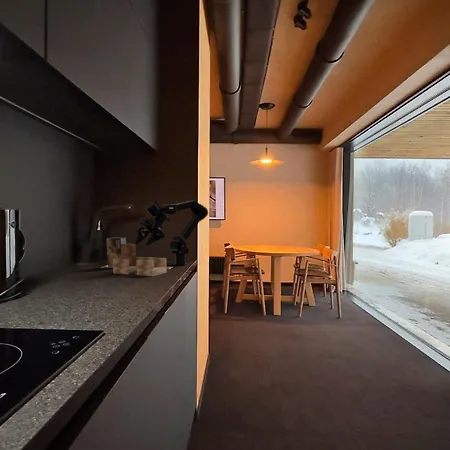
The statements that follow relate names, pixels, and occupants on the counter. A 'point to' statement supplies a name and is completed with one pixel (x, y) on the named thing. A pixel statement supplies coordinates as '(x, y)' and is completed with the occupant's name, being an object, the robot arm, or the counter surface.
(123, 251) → the walnut block
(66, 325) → the counter surface
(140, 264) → the tunnel deck
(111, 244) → the coffee box
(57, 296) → the counter surface
